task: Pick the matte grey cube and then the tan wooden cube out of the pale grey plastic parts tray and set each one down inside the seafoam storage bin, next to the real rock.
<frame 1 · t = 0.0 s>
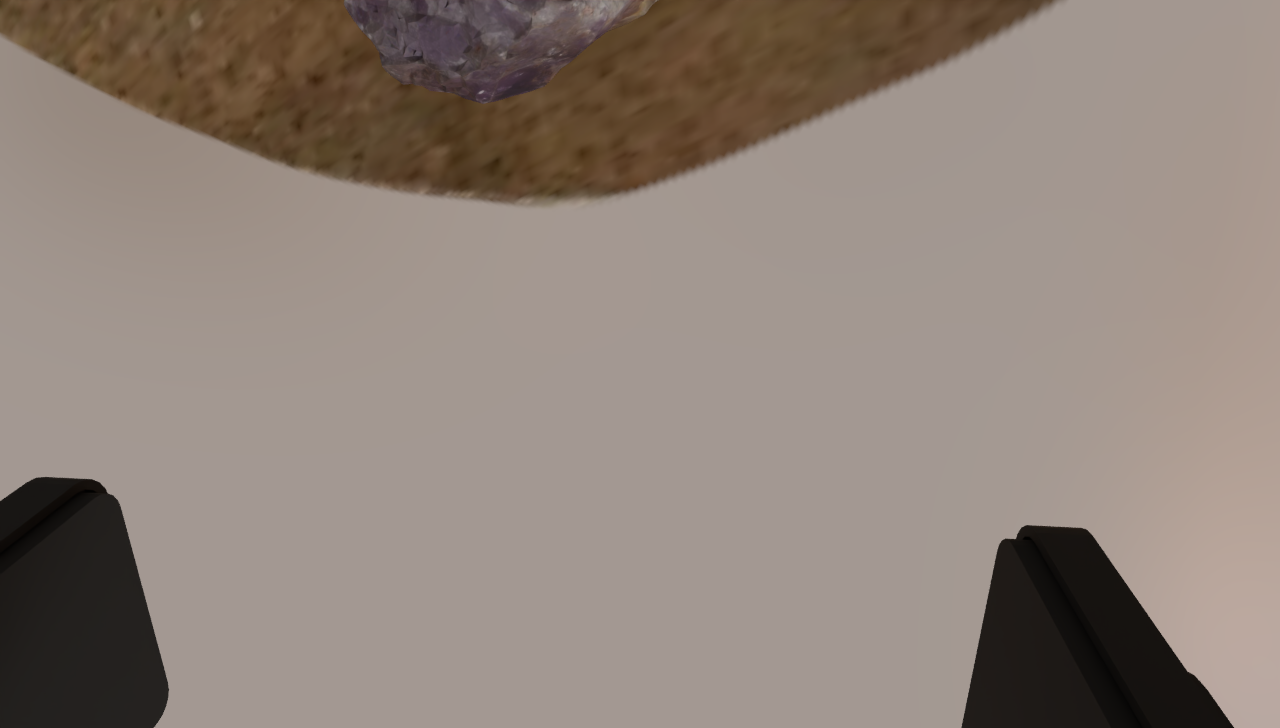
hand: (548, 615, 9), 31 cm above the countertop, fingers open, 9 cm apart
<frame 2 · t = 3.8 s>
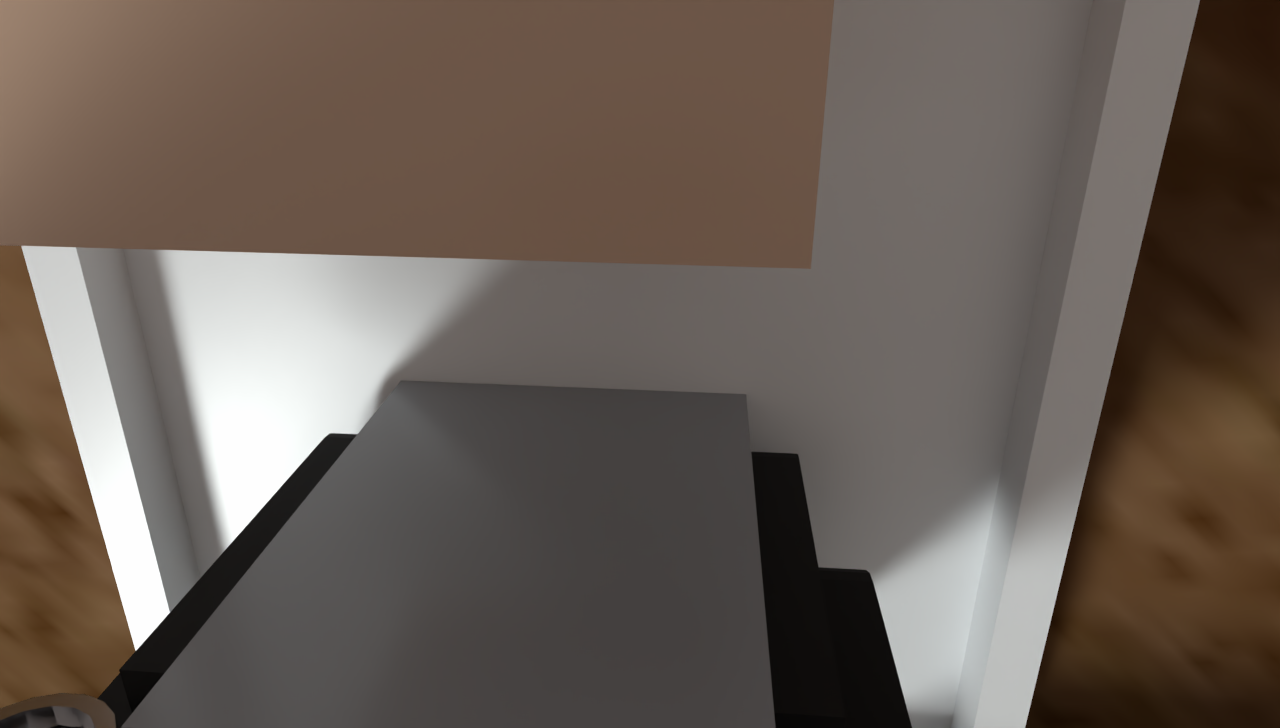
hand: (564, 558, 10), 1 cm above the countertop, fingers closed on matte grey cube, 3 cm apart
matte grey cube: (574, 533, 11), point 1 cm above the countertop, touching gripper
parts tray: (570, 245, 10), on the countertop
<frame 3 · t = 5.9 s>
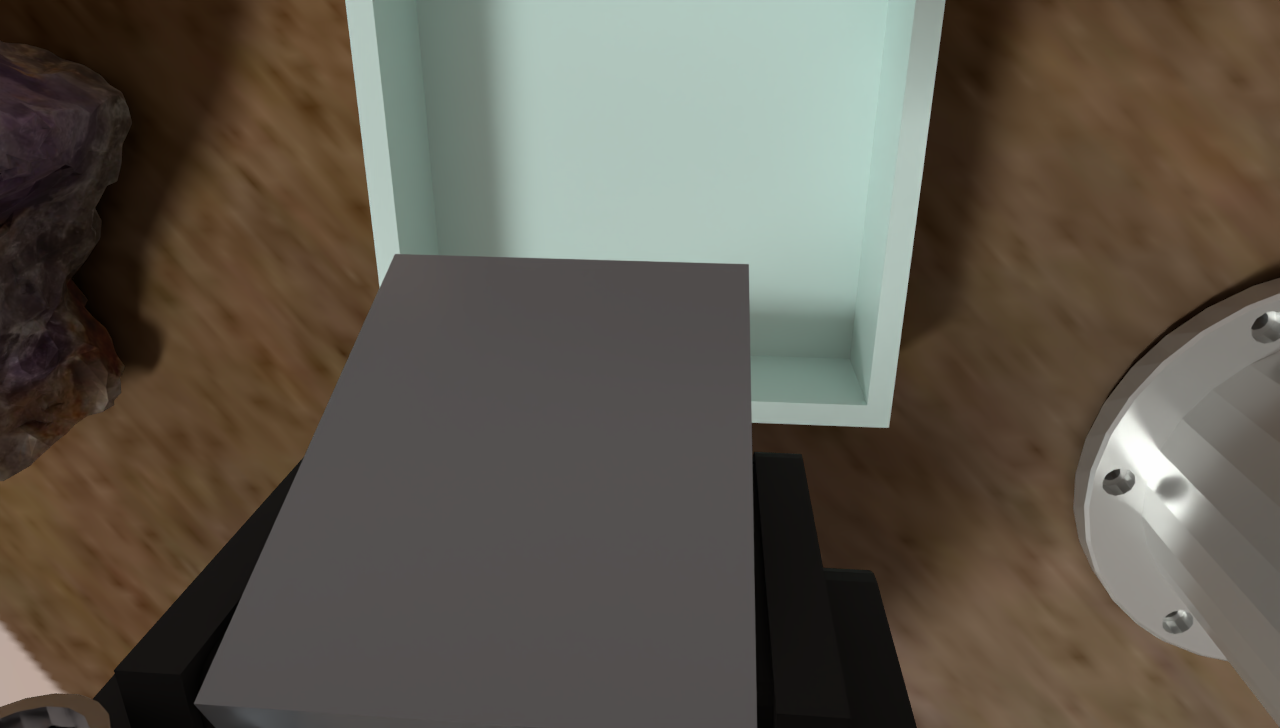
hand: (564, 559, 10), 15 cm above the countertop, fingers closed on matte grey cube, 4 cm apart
rock: (10, 209, 25), on the countertop
matte grey cube: (582, 382, 11), point 13 cm above the countertop, tilted 22°, touching gripper
seafoam storage bin: (648, 143, 23), on the countertop
when the fingers open (3 cm above the countertop, at t = 8.3 s): matte grey cube stays where it is, resting on seafoam storage bin.
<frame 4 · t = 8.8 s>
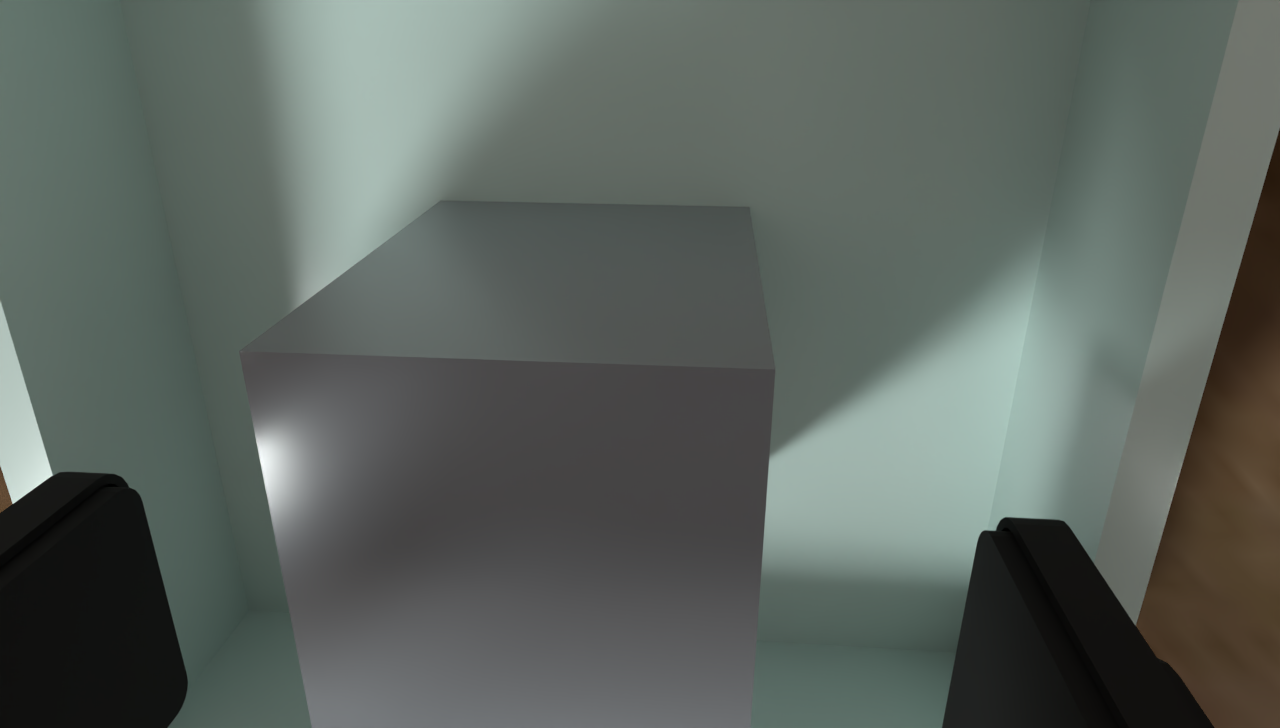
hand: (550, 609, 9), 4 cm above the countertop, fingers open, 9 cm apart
matte grey cube: (595, 347, 12), point 1 cm above the countertop, touching seafoam storage bin
seafoam storage bin: (595, 274, 12), on the countertop
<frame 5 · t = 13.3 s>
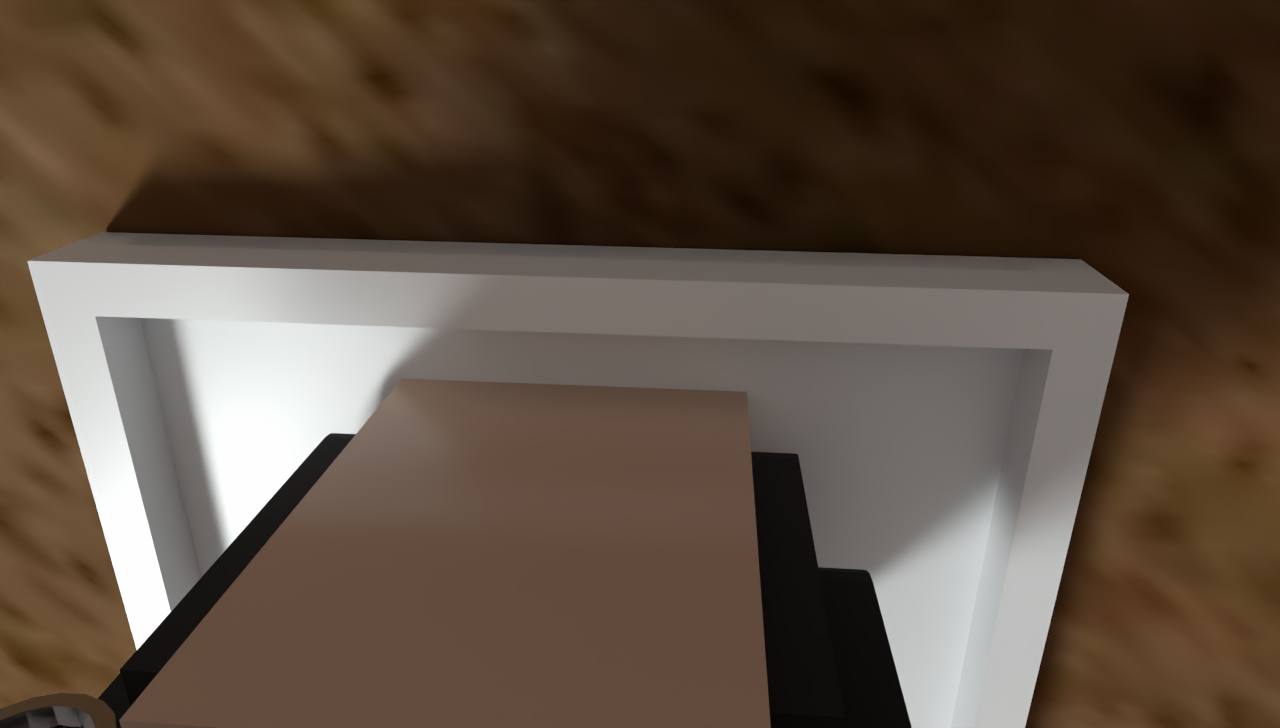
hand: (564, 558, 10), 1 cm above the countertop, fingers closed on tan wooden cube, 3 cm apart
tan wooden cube: (576, 531, 11), point 1 cm above the countertop, touching gripper, parts tray
parts tray: (583, 714, 13), on the countertop
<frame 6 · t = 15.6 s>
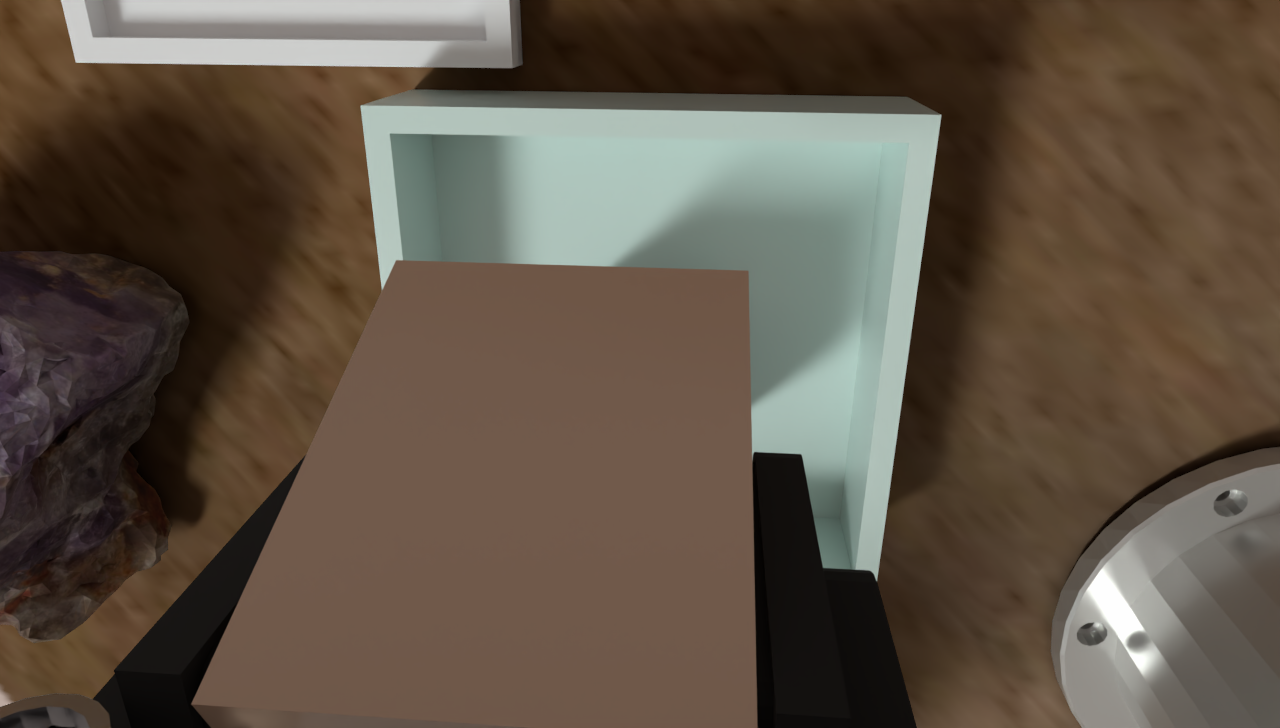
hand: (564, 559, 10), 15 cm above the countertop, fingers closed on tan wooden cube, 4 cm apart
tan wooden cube: (582, 389, 11), point 13 cm above the countertop, tilted 21°, touching gripper
rock: (69, 381, 27), on the countertop
seafoam storage bin: (651, 325, 25), on the countertop
when the fingers open (4 cm above the countertop, at t = 17.9 s): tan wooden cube stays where it is, resting on seafoam storage bin, matte grey cube.
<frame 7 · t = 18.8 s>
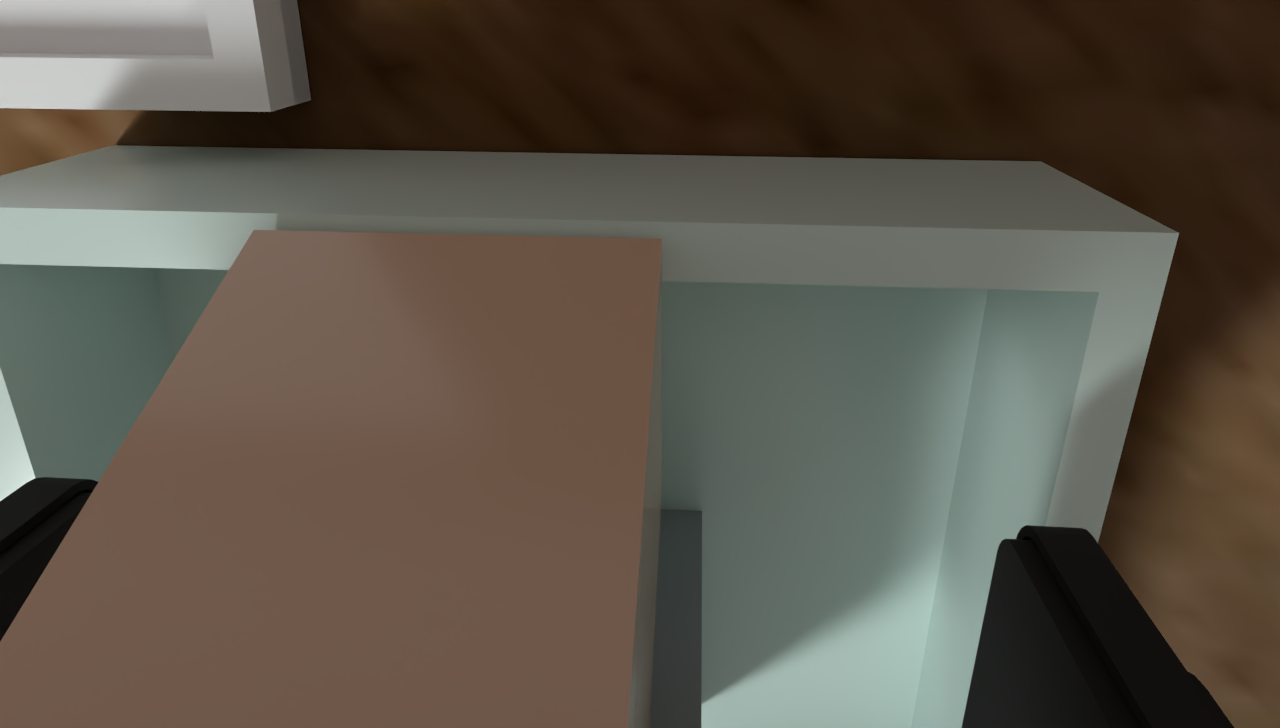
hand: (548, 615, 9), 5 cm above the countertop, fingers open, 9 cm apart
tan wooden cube: (485, 376, 10), point 3 cm above the countertop, tilted 22°, touching seafoam storage bin, matte grey cube
matte grey cube: (574, 609, 14), point 1 cm above the countertop, touching seafoam storage bin, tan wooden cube
seafoam storage bin: (574, 542, 14), on the countertop
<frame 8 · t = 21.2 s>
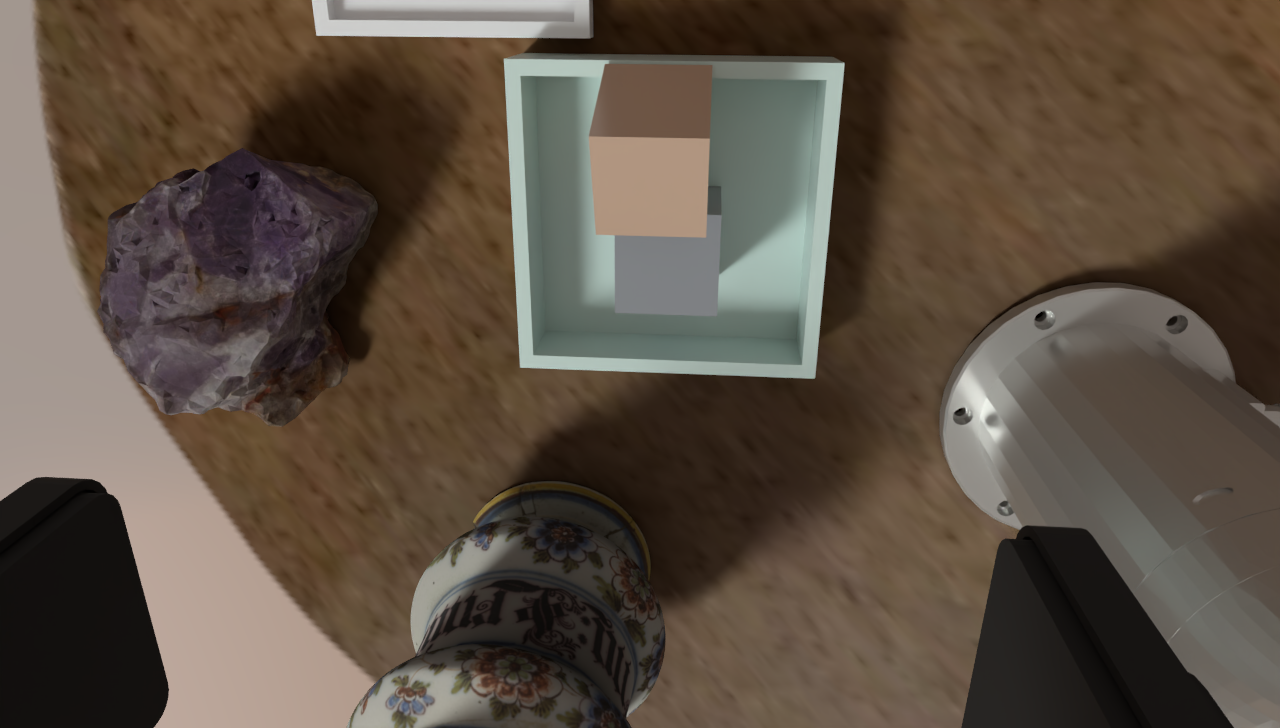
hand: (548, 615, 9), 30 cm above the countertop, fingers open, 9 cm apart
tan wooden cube: (658, 113, 34), point 3 cm above the countertop, tilted 22°, touching seafoam storage bin, matte grey cube
rock: (284, 258, 41), on the countertop
matte grey cube: (673, 230, 38), point 1 cm above the countertop, touching seafoam storage bin, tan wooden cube
apothecary jar: (558, 557, 46), on the countertop
seafoam storage bin: (672, 207, 38), on the countertop
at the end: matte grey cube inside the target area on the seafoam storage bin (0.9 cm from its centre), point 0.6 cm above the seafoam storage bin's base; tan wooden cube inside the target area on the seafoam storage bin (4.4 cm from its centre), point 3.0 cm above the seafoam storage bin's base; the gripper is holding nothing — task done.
